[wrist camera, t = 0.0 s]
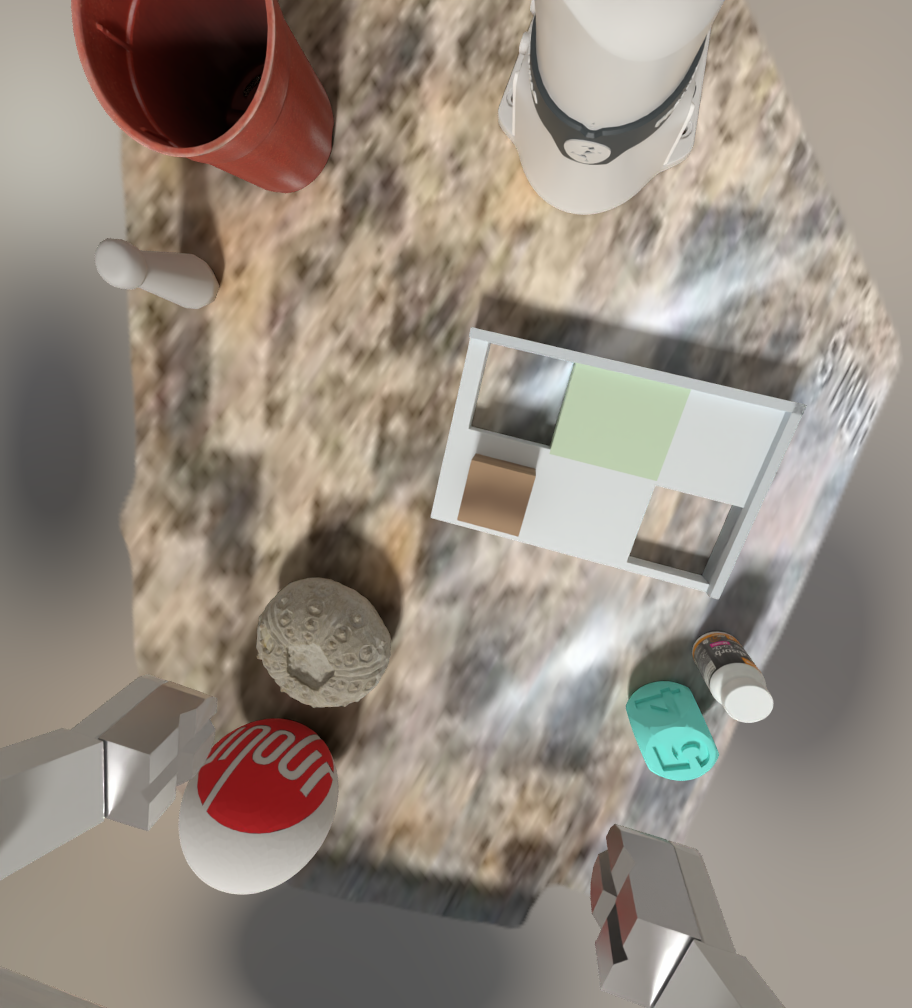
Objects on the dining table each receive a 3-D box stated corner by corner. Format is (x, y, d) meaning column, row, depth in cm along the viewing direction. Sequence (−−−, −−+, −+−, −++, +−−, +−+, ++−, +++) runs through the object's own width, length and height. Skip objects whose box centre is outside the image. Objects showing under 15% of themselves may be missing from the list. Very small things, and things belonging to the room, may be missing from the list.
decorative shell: (281, 667, 70) (241, 714, 60) (275, 557, 64) (231, 590, 55) (397, 687, 67) (374, 739, 58) (401, 574, 62) (377, 611, 53)
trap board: (475, 329, 52) (471, 327, 49) (787, 402, 49) (806, 405, 46) (434, 511, 59) (428, 520, 55) (707, 585, 56) (718, 599, 52)
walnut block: (475, 453, 53) (471, 459, 50) (535, 468, 53) (535, 476, 49) (462, 509, 56) (456, 520, 52) (519, 525, 55) (518, 536, 51)
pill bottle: (743, 631, 57) (785, 683, 47) (735, 672, 58) (774, 730, 49) (693, 627, 58) (724, 678, 48) (687, 667, 59) (716, 724, 50)
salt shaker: (212, 249, 54) (118, 214, 42) (234, 299, 55) (148, 279, 43) (173, 270, 56) (70, 242, 43) (195, 318, 57) (101, 304, 45)
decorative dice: (620, 690, 62) (632, 735, 54) (682, 672, 60) (703, 717, 52) (642, 738, 63) (657, 788, 56) (703, 722, 61) (727, 772, 53)
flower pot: (345, 229, 51) (266, 171, 36) (208, 205, 53) (77, 139, 38) (364, 45, 46) (282, -113, 31) (213, 24, 48) (63, -136, 33)
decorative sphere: (372, 716, 69) (311, 847, 50) (343, 810, 76) (280, 959, 57) (250, 670, 71) (145, 781, 52) (232, 766, 77) (132, 897, 58)
